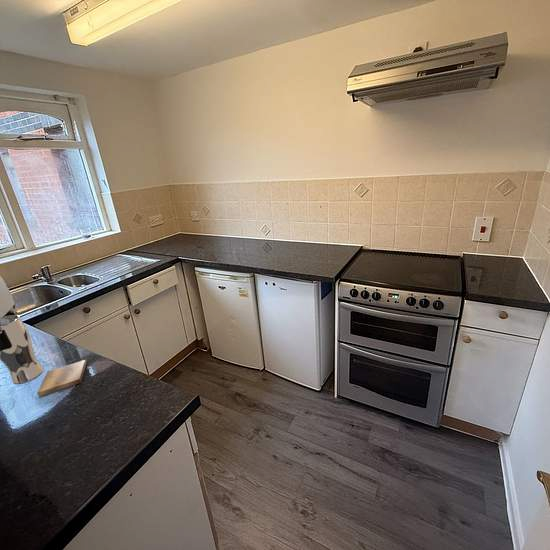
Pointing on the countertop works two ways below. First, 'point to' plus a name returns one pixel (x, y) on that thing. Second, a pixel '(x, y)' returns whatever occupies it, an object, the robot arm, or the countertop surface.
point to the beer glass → (19, 351)
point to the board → (62, 378)
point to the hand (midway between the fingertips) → (10, 340)
